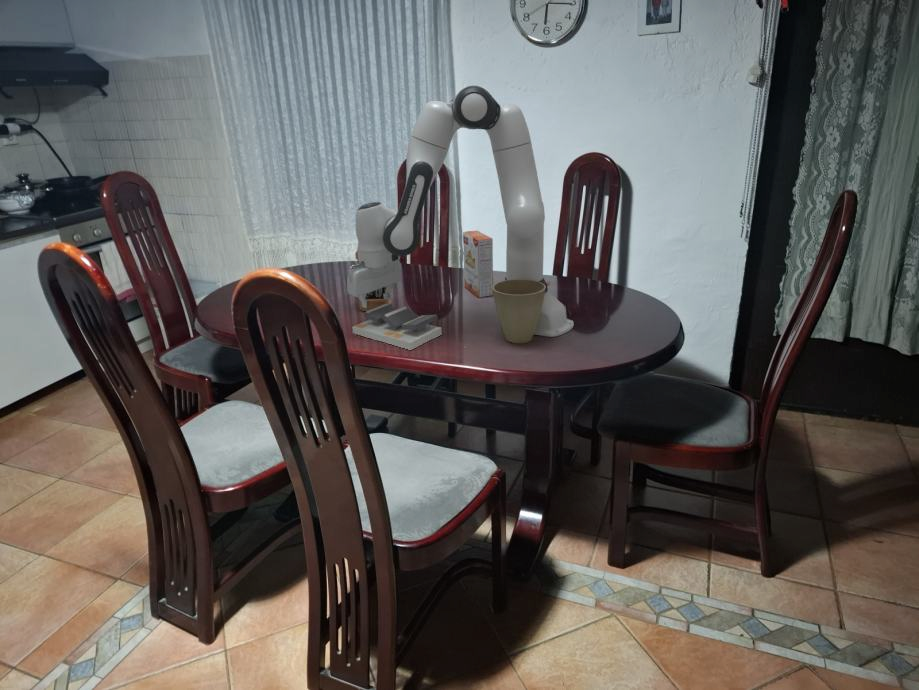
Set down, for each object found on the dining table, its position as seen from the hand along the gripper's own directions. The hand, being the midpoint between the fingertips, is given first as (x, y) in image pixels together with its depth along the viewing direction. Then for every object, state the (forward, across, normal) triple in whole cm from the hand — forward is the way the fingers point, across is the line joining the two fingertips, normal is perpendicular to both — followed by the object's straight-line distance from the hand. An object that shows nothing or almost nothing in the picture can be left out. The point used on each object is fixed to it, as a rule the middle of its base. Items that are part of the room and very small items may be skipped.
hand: (376, 302), depth 189 cm
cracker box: (+8, +46, -5) cm, 47 cm away
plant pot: (+8, +15, -41) cm, 45 cm away
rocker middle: (+3, 0, -9) cm, 10 cm away
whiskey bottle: (+8, +14, +15) cm, 22 cm away
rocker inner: (+3, 0, -17) cm, 17 cm away
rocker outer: (+3, 0, -2) cm, 3 cm away
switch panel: (+8, -2, -9) cm, 12 cm away
